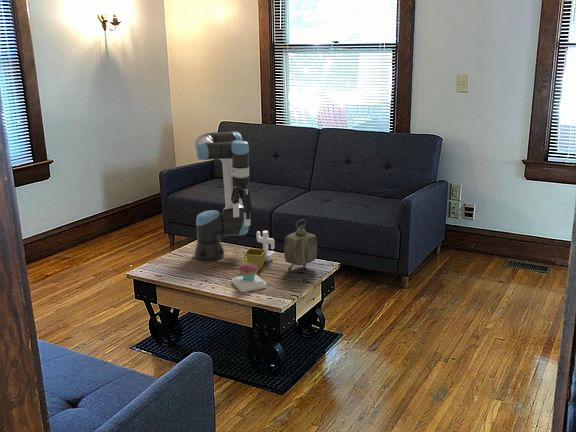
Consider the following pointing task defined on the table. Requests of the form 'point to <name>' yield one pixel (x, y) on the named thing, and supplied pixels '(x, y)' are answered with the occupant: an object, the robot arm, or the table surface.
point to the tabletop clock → (300, 247)
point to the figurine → (266, 244)
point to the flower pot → (255, 257)
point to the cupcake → (248, 270)
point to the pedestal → (249, 283)
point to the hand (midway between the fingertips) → (241, 221)
